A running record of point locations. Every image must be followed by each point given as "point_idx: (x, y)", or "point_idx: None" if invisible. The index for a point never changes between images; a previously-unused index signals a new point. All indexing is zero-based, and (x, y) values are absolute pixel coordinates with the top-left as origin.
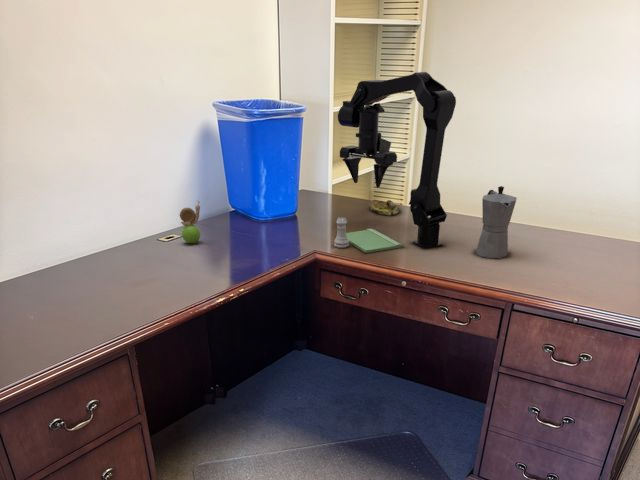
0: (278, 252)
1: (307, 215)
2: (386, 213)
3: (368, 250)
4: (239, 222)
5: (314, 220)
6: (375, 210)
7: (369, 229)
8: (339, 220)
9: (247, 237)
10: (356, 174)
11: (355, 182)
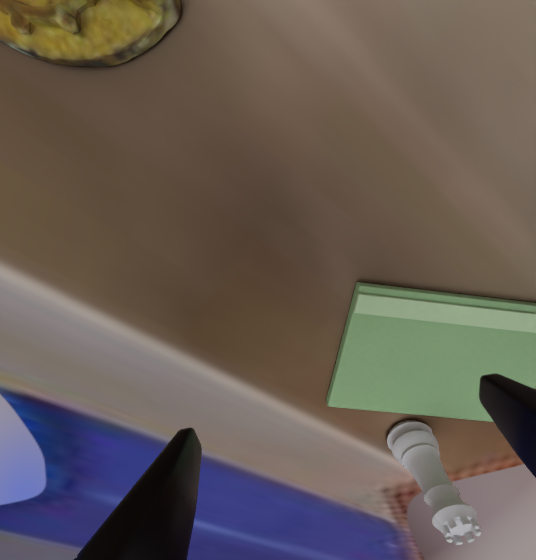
0: (337, 541)
1: (20, 360)
2: (156, 36)
3: None
4: (41, 523)
5: (102, 371)
6: (75, 62)
7: (365, 308)
8: (458, 534)
9: (190, 547)
10: (167, 529)
11: (201, 451)
